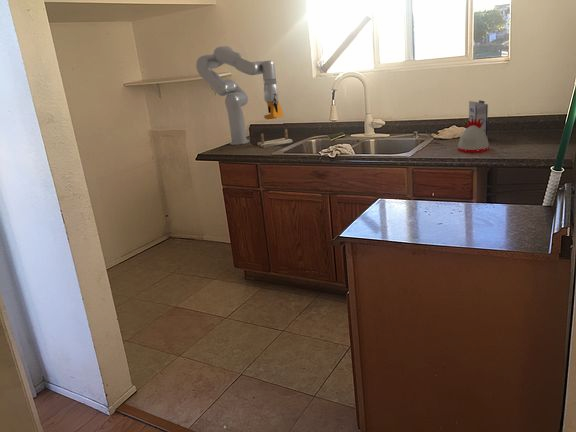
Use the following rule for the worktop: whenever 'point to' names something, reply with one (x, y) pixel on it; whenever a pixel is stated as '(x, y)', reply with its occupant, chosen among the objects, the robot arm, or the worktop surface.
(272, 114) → the bracket
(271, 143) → the tool rest
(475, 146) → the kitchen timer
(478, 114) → the milk carton
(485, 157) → the worktop surface
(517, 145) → the worktop surface
